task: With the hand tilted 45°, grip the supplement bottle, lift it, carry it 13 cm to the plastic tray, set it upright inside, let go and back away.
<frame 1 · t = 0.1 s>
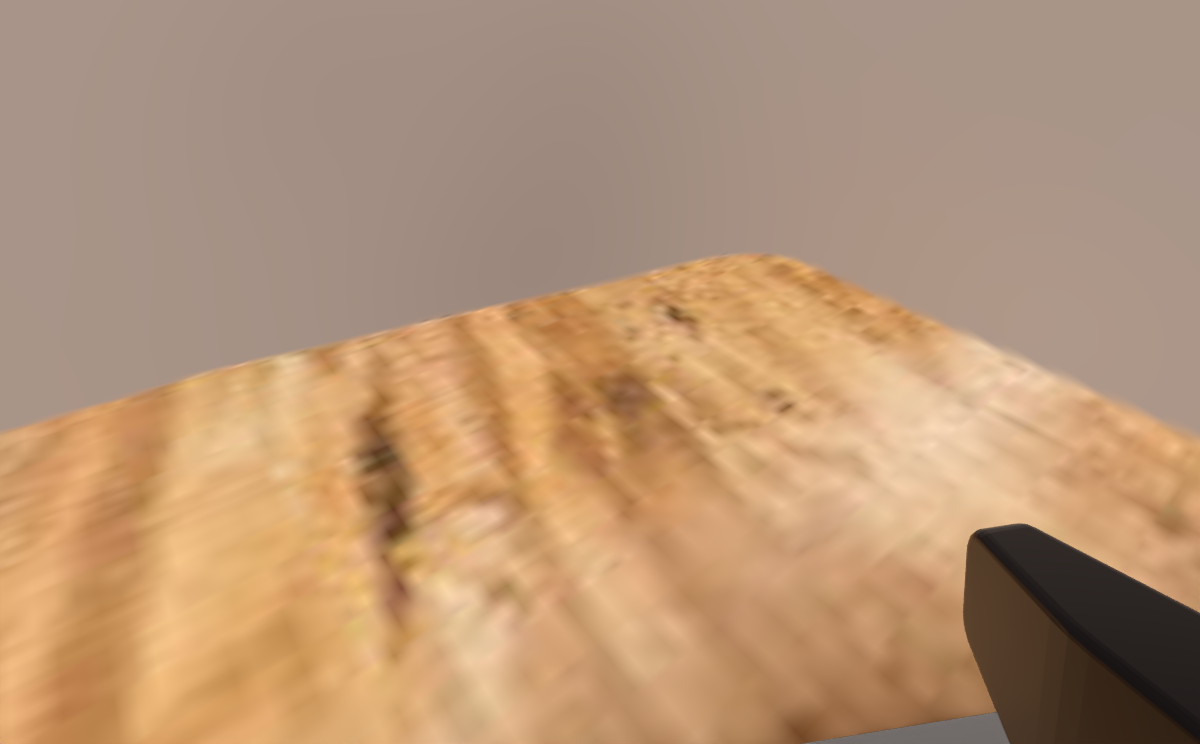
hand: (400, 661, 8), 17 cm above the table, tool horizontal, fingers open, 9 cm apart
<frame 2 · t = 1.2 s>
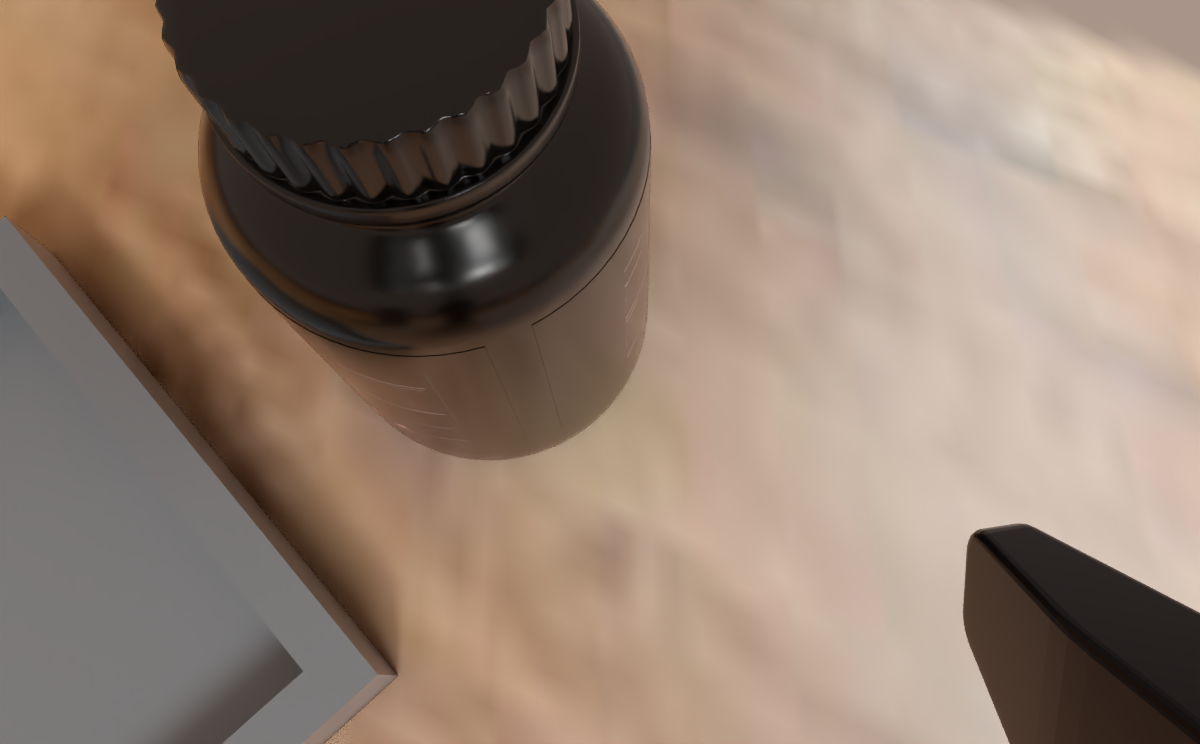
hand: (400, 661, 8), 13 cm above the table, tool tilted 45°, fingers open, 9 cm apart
supplement bottle: (496, 324, 23), on the table
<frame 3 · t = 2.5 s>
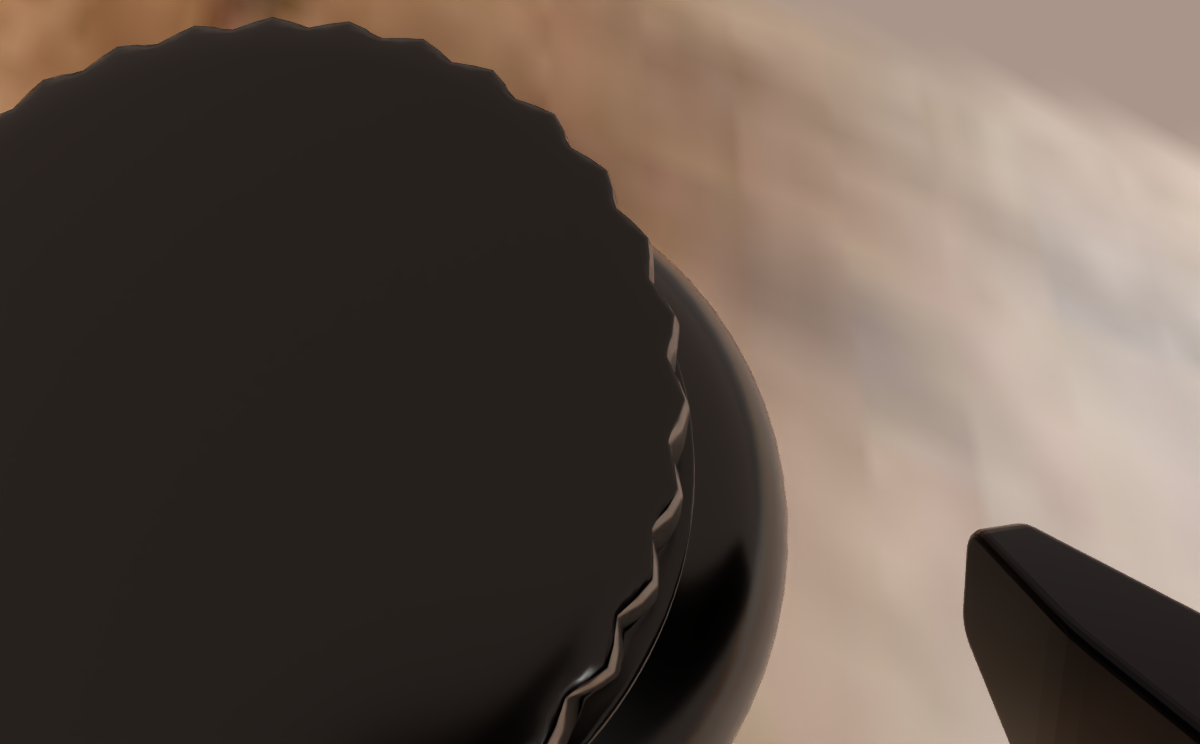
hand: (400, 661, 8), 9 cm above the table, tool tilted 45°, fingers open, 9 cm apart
supplement bottle: (508, 601, 17), on the table
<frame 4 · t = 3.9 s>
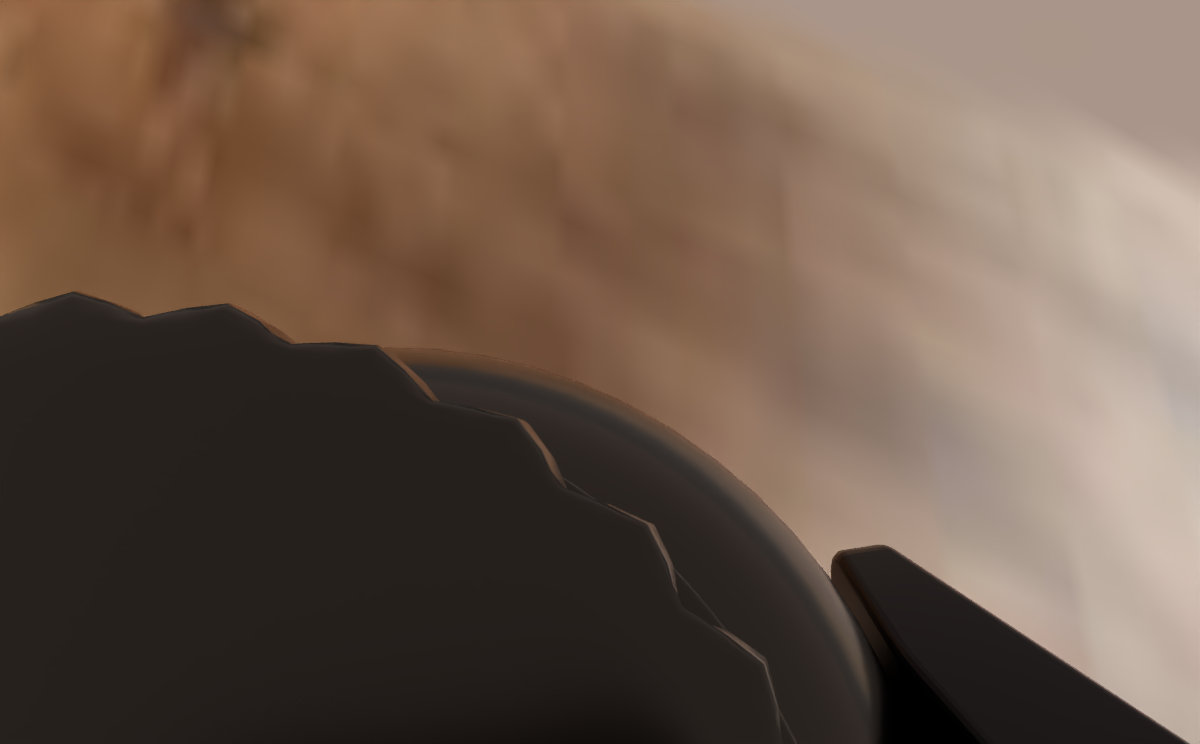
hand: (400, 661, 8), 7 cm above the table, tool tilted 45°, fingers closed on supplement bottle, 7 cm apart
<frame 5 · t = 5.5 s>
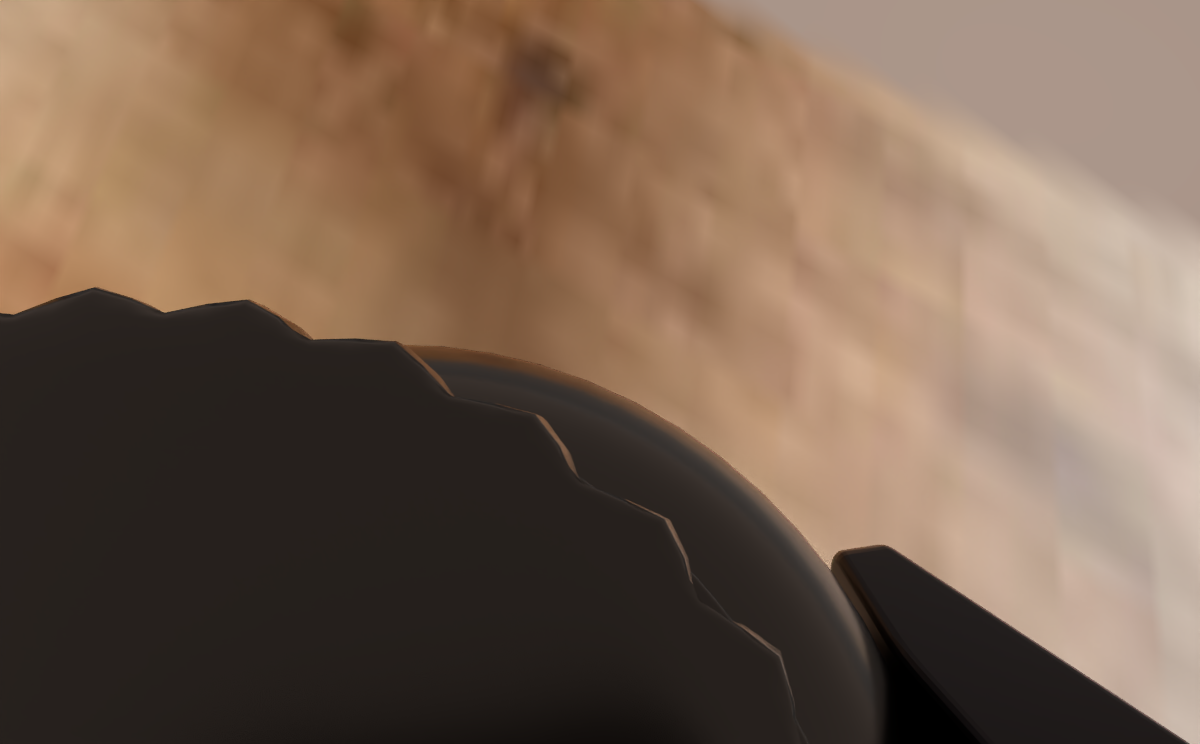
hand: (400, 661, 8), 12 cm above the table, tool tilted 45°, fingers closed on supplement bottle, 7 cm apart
when the fingers open (8 cm above the table, at t = 7.6 s): supplement bottle drops 1 cm, resting on tray.
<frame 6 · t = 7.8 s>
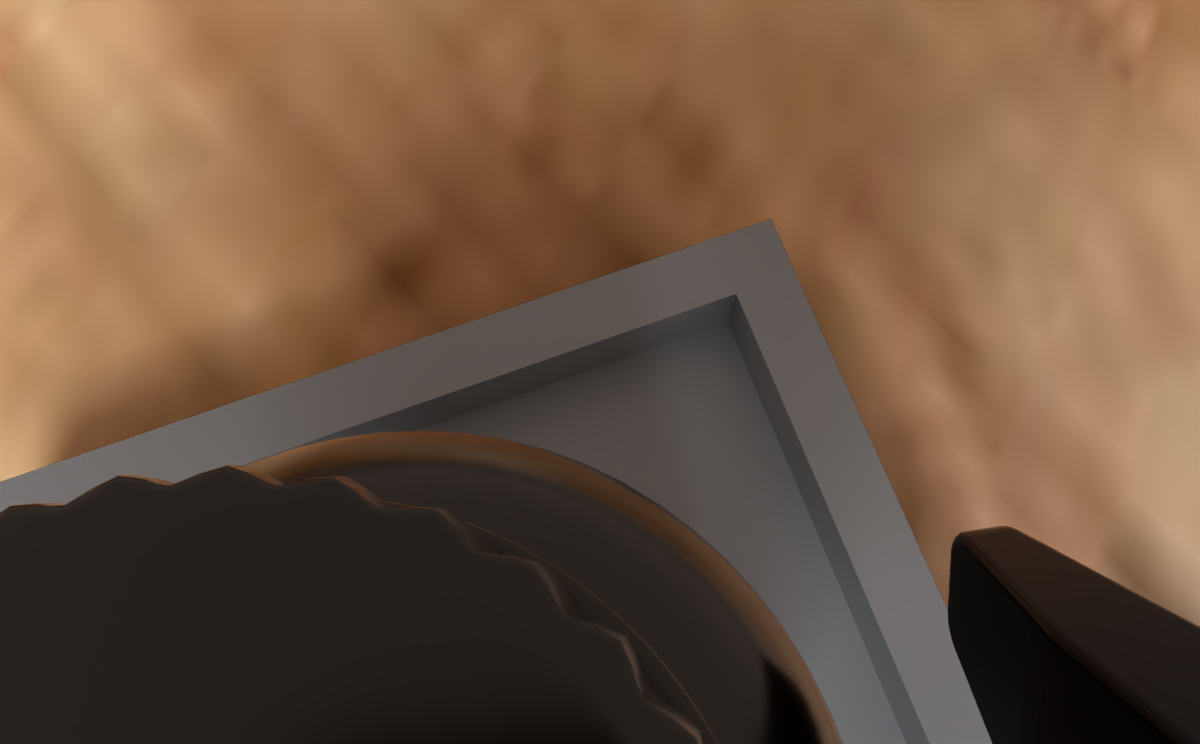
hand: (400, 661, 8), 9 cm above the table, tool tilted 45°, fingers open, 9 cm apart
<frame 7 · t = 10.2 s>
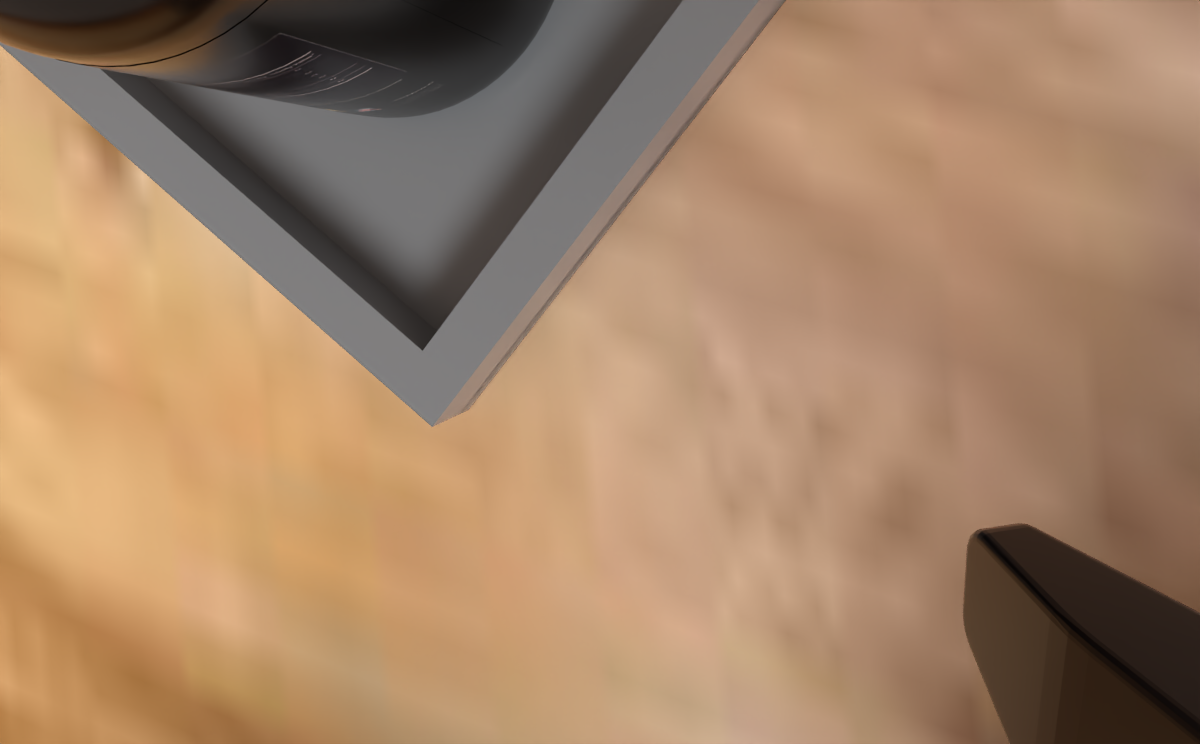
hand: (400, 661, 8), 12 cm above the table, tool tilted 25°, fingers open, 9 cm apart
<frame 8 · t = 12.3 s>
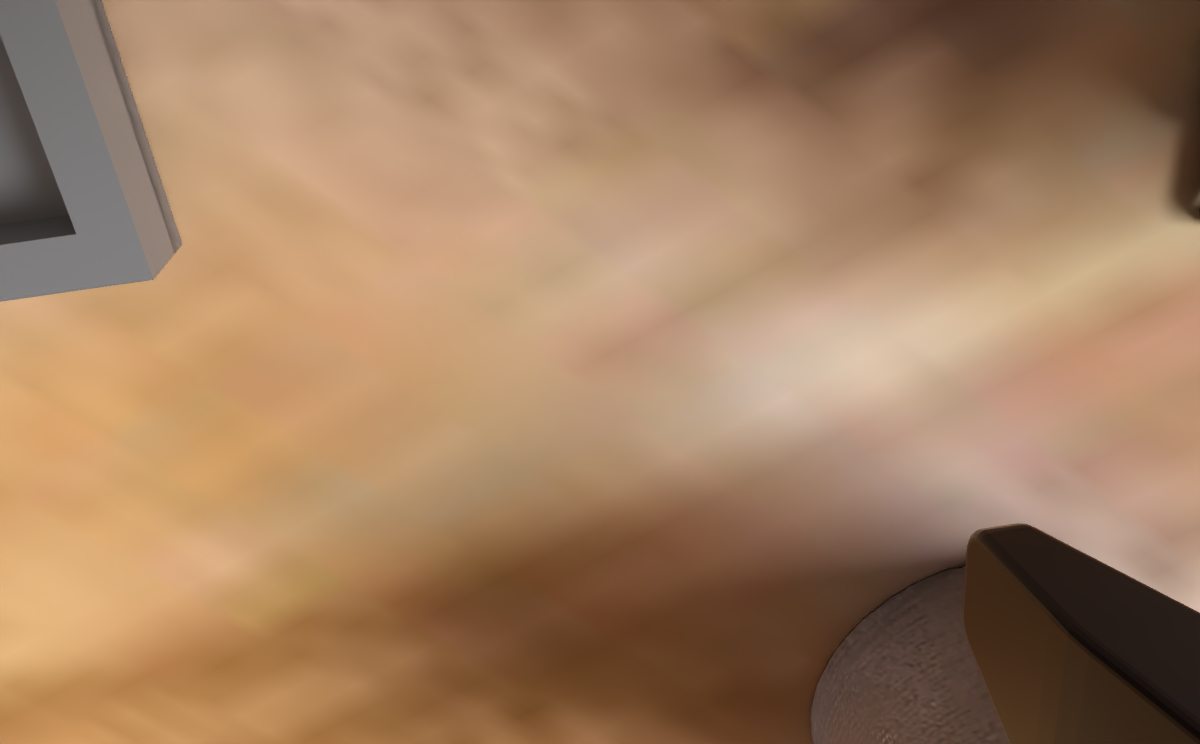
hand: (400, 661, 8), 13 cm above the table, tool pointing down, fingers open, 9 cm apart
pillar candle: (975, 692, 27), on the table
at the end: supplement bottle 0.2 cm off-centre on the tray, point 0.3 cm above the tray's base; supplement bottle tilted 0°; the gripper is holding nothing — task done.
